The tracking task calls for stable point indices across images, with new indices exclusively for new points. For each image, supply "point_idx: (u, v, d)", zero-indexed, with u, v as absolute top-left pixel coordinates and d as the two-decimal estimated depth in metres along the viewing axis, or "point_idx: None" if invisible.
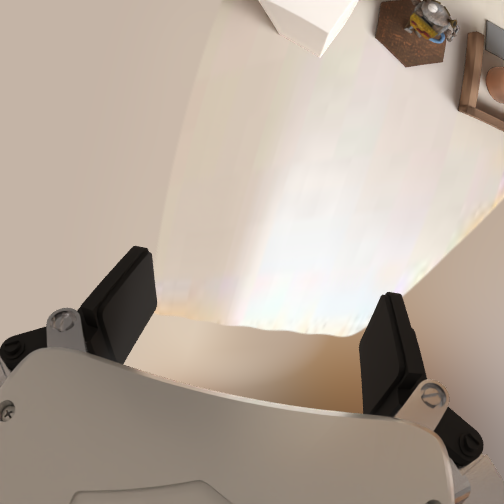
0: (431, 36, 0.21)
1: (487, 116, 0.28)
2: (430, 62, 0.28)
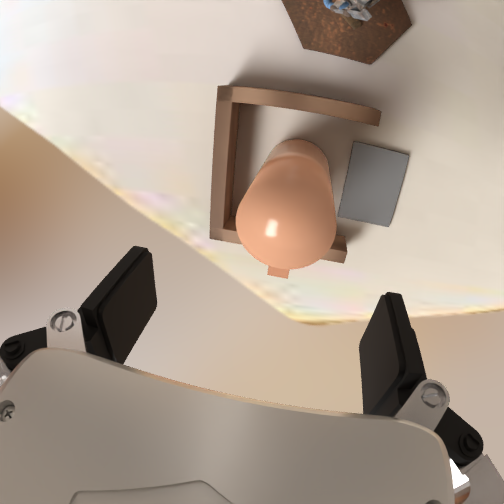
0: None
1: (224, 129, 0.22)
2: (296, 26, 0.18)
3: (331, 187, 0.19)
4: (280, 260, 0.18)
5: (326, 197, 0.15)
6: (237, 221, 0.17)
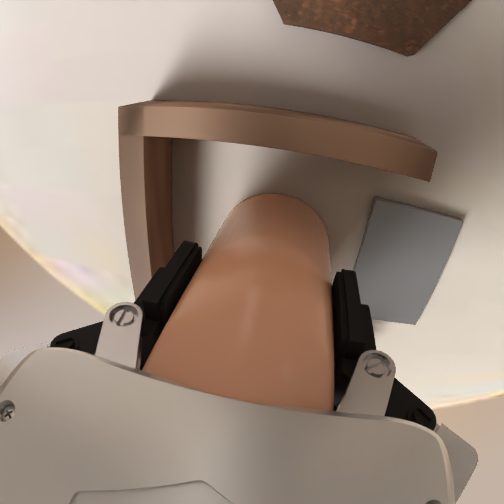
0: None
1: (136, 187, 0.12)
2: None
3: (332, 331, 0.09)
4: None
5: None
6: None
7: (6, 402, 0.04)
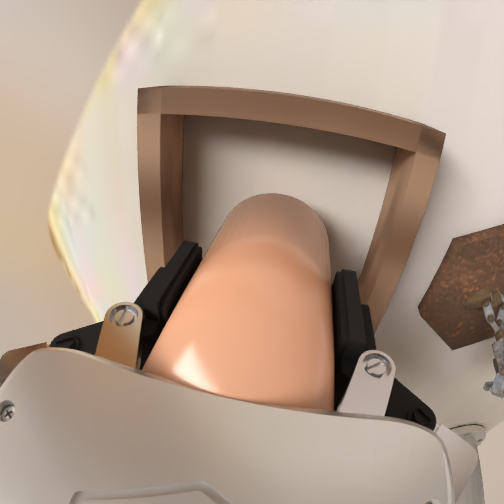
0: None
1: (368, 130, 0.11)
2: (484, 241, 0.14)
3: (332, 331, 0.09)
4: None
5: None
6: None
7: (6, 402, 0.04)
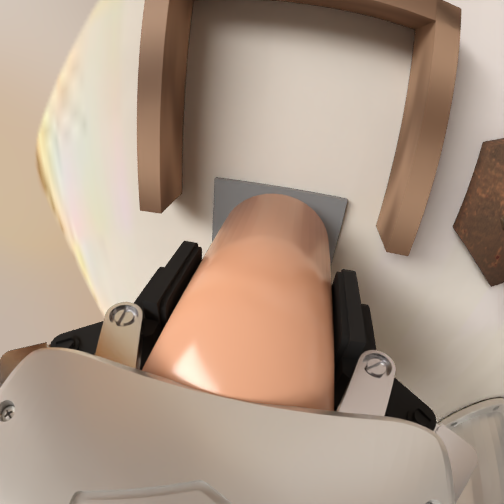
0: None
1: None
2: None
3: (332, 331, 0.09)
4: None
5: None
6: None
7: (6, 402, 0.04)
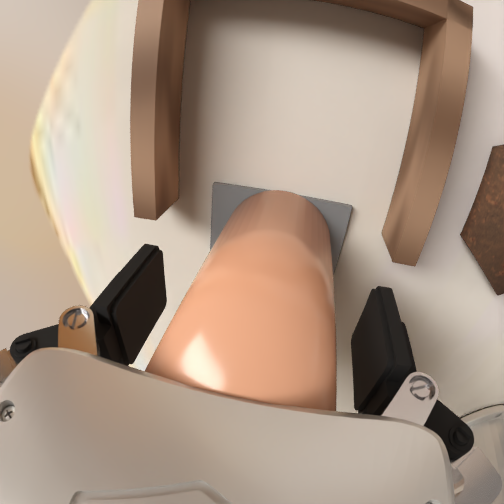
0: None
1: None
2: None
3: (334, 318, 0.10)
4: None
5: None
6: None
7: (6, 402, 0.04)
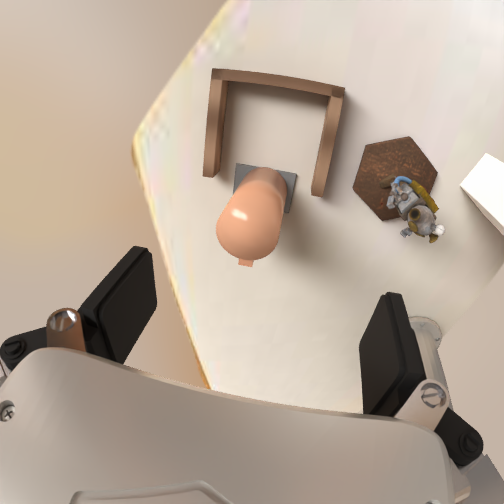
0: (423, 187, 0.25)
1: (309, 87, 0.27)
2: (383, 144, 0.30)
3: (281, 206, 0.29)
4: (244, 254, 0.28)
5: (271, 215, 0.25)
6: (217, 229, 0.27)
7: (6, 402, 0.04)
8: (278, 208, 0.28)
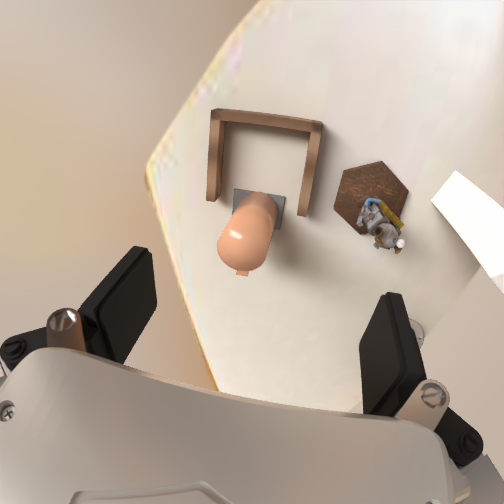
0: (388, 208, 0.31)
1: (292, 125, 0.34)
2: (358, 170, 0.37)
3: (270, 226, 0.36)
4: (240, 266, 0.35)
5: (260, 236, 0.32)
6: (217, 247, 0.34)
7: (6, 402, 0.04)
8: (267, 229, 0.35)
